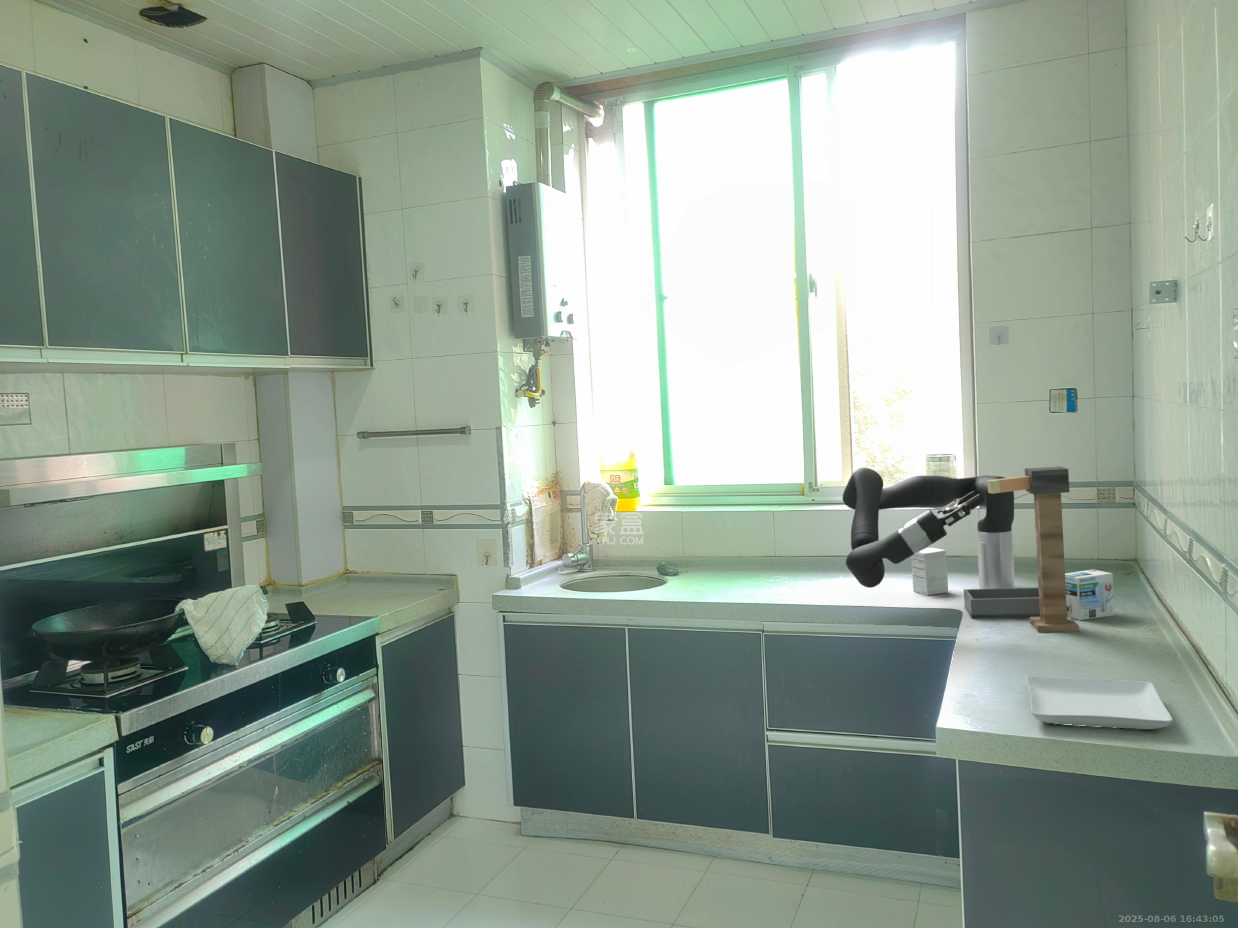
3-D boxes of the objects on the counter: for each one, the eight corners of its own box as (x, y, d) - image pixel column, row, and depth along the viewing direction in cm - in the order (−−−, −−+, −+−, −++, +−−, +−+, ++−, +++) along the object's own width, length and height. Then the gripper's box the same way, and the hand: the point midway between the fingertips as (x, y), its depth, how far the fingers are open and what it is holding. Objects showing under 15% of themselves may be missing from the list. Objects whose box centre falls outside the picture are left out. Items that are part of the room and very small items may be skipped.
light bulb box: (1080, 621, 221) (1078, 577, 221) (1060, 615, 228) (1058, 573, 227) (1116, 615, 224) (1114, 572, 223) (1095, 610, 230) (1093, 568, 230)
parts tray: (964, 607, 244) (963, 589, 243) (1044, 605, 239) (1043, 587, 239) (971, 618, 231) (970, 599, 231) (1056, 617, 226) (1055, 597, 226)
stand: (1029, 622, 223) (1021, 468, 221) (1069, 622, 220) (1061, 466, 218) (1037, 631, 214) (1029, 471, 212) (1079, 631, 212) (1071, 469, 210)
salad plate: (1175, 739, 146) (1175, 718, 146) (1032, 731, 154) (1031, 711, 154) (1152, 697, 165) (1151, 679, 165) (1025, 692, 173) (1025, 675, 173)
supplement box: (934, 588, 270) (931, 546, 269) (949, 592, 263) (946, 550, 262) (912, 591, 268) (909, 549, 268) (927, 595, 261) (924, 552, 260)
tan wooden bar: (988, 492, 219) (986, 480, 219) (1048, 485, 217) (1046, 473, 217) (991, 493, 216) (990, 481, 216) (1052, 486, 214) (1051, 473, 214)
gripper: (928, 540, 229) (984, 505, 225) (934, 548, 215) (994, 511, 211) (910, 515, 230) (966, 480, 226) (915, 522, 216) (975, 485, 212)
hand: (980, 495), depth 219 cm, fingers open, 8 cm apart
